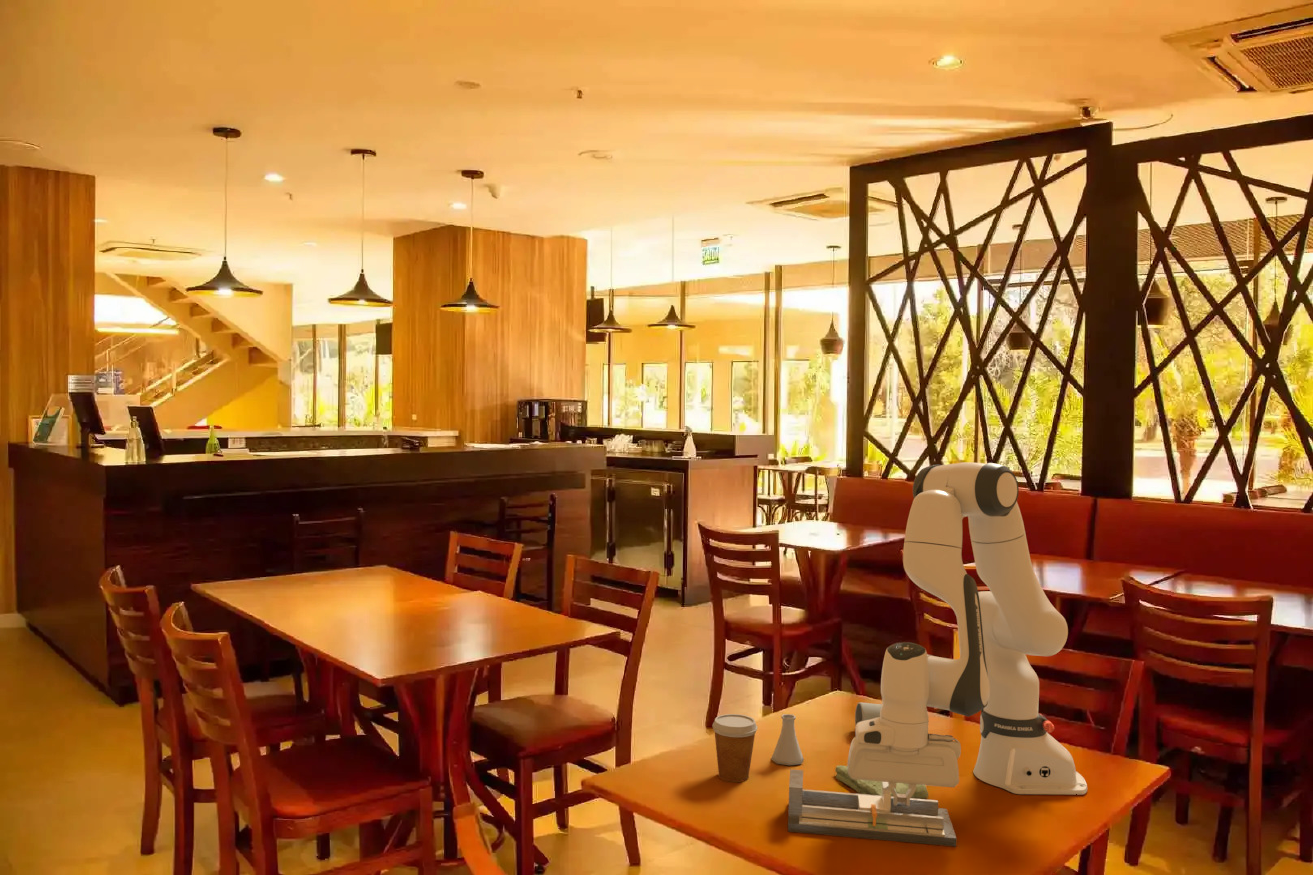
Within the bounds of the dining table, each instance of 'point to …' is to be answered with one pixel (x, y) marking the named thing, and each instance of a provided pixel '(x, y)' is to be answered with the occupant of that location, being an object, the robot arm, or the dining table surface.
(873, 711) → the ceramic mug
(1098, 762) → the dining table surface
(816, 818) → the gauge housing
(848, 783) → the washcloth
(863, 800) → the cream corner bracket
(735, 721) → the disposable coffee cup
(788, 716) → the flask
